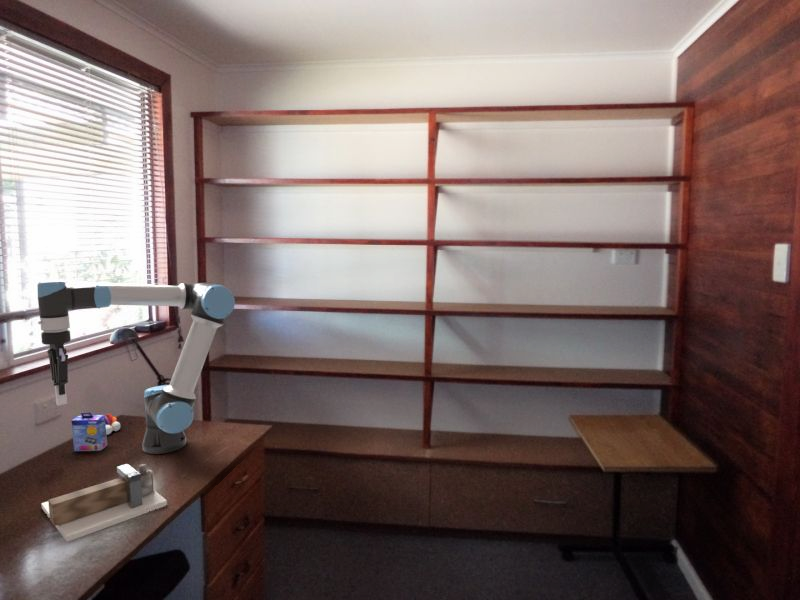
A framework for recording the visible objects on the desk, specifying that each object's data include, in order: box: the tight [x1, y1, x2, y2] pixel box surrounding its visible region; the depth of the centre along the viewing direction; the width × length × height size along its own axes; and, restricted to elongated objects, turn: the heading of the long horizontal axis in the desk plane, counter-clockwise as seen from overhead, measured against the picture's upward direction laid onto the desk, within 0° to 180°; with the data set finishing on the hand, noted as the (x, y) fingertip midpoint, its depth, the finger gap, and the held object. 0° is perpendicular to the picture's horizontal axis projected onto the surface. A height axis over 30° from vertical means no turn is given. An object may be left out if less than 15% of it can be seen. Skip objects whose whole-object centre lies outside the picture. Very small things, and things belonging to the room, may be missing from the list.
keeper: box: [116, 463, 142, 509], centre depth 157 cm, size 3×10×11 cm, turn 46°
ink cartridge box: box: [71, 411, 108, 452], centre depth 199 cm, size 10×6×14 cm, turn 95°
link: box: [47, 463, 155, 527], centre depth 153 cm, size 27×5×8 cm, turn 136°
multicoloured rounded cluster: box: [104, 413, 121, 436], centre depth 216 cm, size 8×10×7 cm
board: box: [40, 489, 168, 543], centre depth 157 cm, size 26×25×2 cm
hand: (61, 404), depth 168 cm, fingers closed
